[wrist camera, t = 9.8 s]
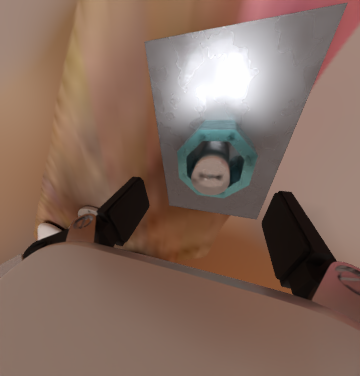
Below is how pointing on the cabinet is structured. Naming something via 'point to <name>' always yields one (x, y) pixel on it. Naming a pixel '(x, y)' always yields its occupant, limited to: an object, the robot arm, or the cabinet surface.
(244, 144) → the ring
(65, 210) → the cabinet surface
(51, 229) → the flower in vase
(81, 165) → the cabinet surface
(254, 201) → the metal plate with knob
